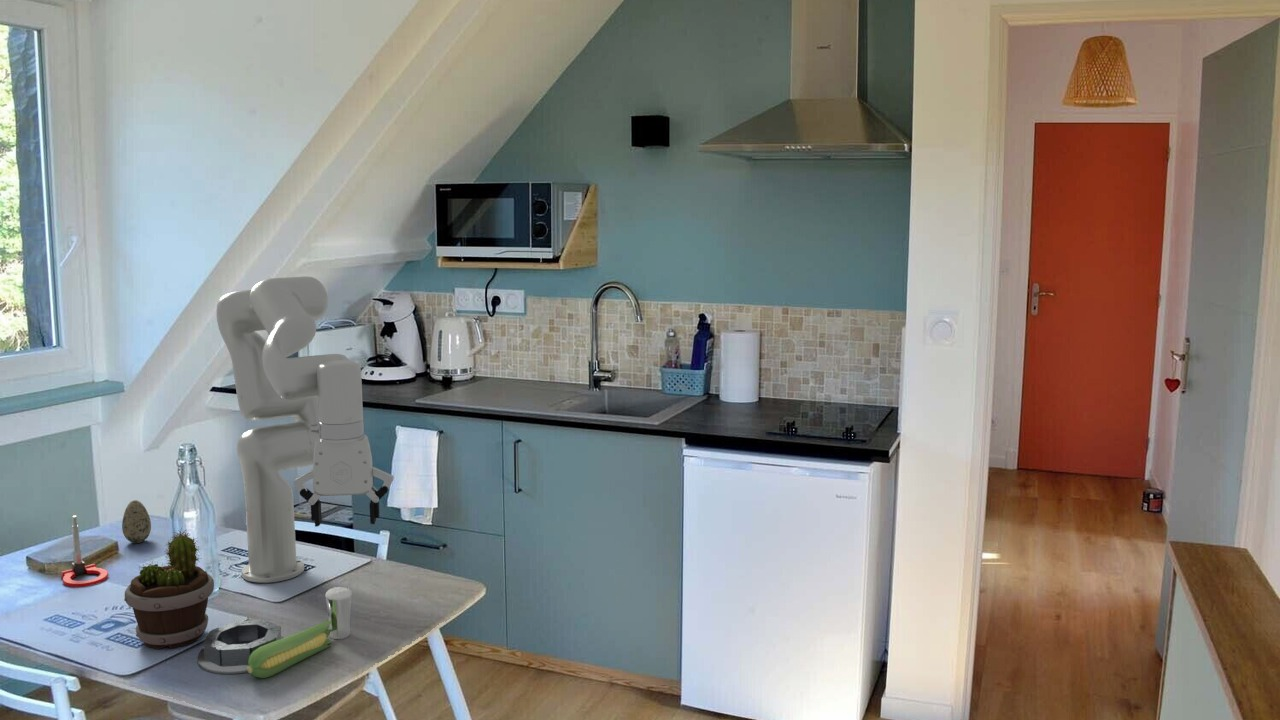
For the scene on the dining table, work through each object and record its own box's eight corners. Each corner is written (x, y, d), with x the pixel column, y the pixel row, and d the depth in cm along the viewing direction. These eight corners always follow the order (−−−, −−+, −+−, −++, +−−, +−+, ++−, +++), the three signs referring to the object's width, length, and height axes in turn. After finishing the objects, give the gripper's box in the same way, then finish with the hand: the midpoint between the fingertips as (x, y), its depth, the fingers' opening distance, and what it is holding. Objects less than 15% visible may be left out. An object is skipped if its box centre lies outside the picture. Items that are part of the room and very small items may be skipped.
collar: (209, 639, 191) (208, 619, 190) (295, 634, 193) (294, 614, 193) (187, 677, 177) (186, 655, 176) (281, 671, 179) (279, 650, 178)
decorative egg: (157, 538, 244) (154, 497, 243) (142, 547, 238) (138, 504, 237) (133, 537, 245) (130, 496, 243) (117, 546, 239) (114, 503, 237)
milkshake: (361, 632, 194) (359, 581, 193) (338, 643, 190) (336, 590, 188) (345, 626, 197) (342, 576, 195) (322, 637, 192) (319, 585, 191)
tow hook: (114, 581, 219) (98, 568, 226) (110, 523, 217) (94, 510, 223) (70, 592, 214) (56, 578, 220) (65, 532, 211) (51, 520, 217)
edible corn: (235, 655, 175) (253, 653, 173) (326, 616, 192) (343, 614, 190) (242, 685, 175) (260, 684, 173) (333, 644, 192) (350, 642, 190)
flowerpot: (166, 663, 182) (158, 552, 178) (110, 644, 189) (101, 537, 186) (235, 632, 194) (229, 528, 191) (180, 615, 202) (173, 515, 198)
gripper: (287, 436, 182) (292, 531, 185) (389, 433, 184) (393, 527, 187) (295, 427, 189) (300, 518, 192) (393, 424, 192) (396, 514, 195)
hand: (346, 523), depth 190 cm, fingers open, 9 cm apart
